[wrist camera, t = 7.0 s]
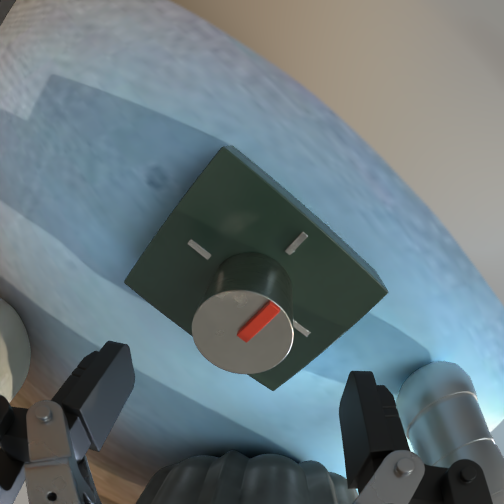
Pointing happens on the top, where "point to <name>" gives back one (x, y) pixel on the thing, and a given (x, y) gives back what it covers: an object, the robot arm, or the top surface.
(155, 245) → the panel
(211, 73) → the top surface
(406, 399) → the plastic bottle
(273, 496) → the bundt pan
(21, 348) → the off-white tall tapered cylinder
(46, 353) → the top surface
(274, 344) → the dial
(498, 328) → the top surface
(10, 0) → the button block
